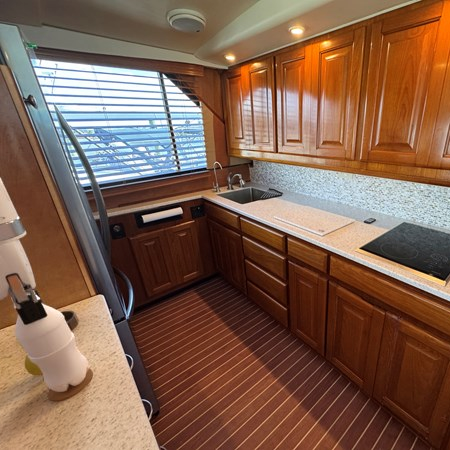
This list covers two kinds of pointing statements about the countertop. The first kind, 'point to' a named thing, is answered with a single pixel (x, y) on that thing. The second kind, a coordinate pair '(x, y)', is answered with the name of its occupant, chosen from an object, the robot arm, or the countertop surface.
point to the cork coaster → (70, 389)
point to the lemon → (32, 367)
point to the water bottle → (53, 349)
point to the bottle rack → (71, 319)
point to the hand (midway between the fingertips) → (34, 314)
